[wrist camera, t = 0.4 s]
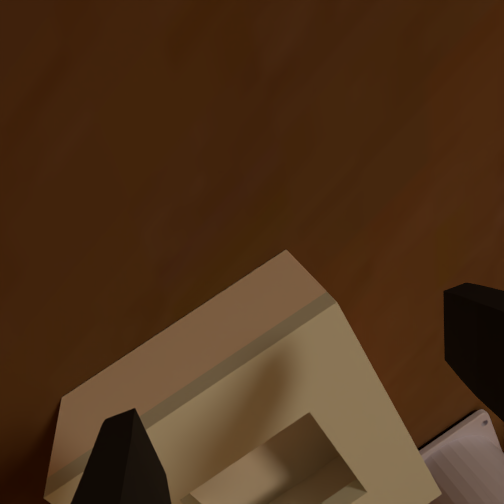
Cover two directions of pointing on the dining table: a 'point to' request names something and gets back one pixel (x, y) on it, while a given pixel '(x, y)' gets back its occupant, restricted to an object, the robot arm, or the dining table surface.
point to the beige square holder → (253, 404)
